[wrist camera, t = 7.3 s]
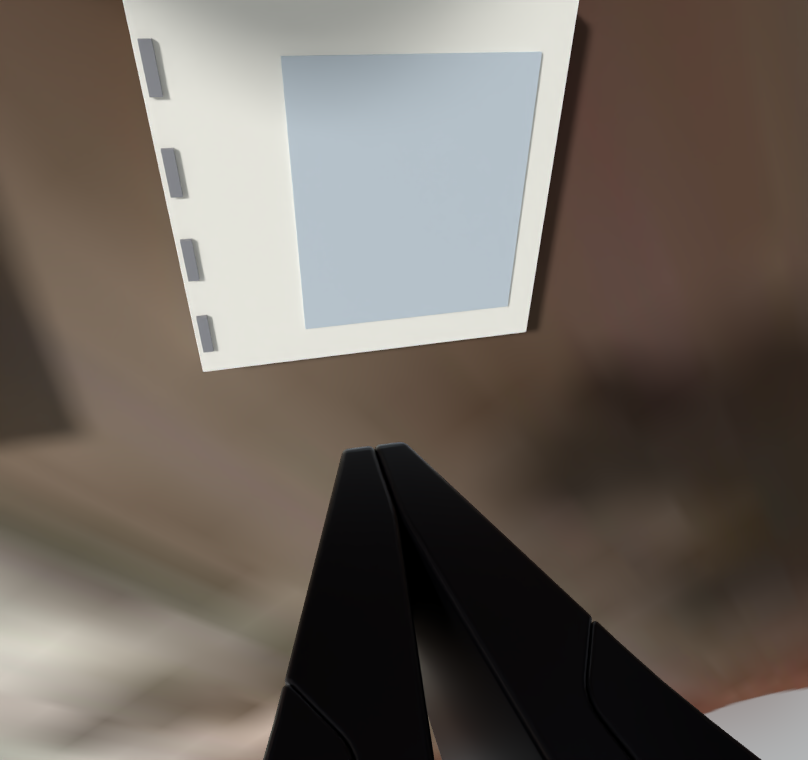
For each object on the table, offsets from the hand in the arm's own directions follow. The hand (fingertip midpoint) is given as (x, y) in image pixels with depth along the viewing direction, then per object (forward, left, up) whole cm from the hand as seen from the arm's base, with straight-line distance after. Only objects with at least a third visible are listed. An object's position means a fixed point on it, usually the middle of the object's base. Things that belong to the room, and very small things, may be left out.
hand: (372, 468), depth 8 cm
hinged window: (-2, 0, -12) cm, 12 cm away
